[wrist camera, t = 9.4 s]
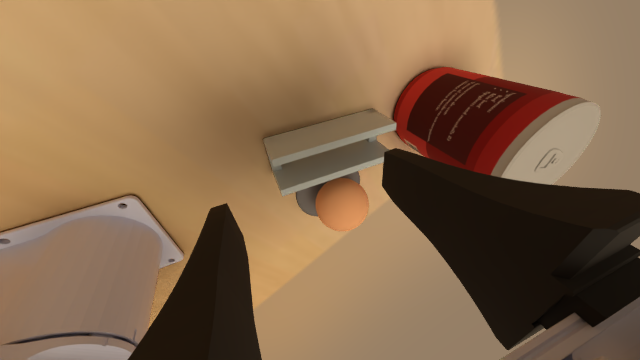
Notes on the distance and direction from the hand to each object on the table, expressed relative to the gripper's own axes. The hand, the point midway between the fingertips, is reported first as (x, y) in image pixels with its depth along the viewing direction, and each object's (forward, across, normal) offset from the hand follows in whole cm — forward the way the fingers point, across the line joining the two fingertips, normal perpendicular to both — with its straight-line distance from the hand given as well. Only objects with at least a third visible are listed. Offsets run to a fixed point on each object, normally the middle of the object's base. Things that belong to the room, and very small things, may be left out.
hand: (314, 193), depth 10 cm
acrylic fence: (+10, -4, +3) cm, 11 cm away
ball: (+10, -4, +9) cm, 14 cm away
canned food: (+10, -15, +3) cm, 18 cm away
